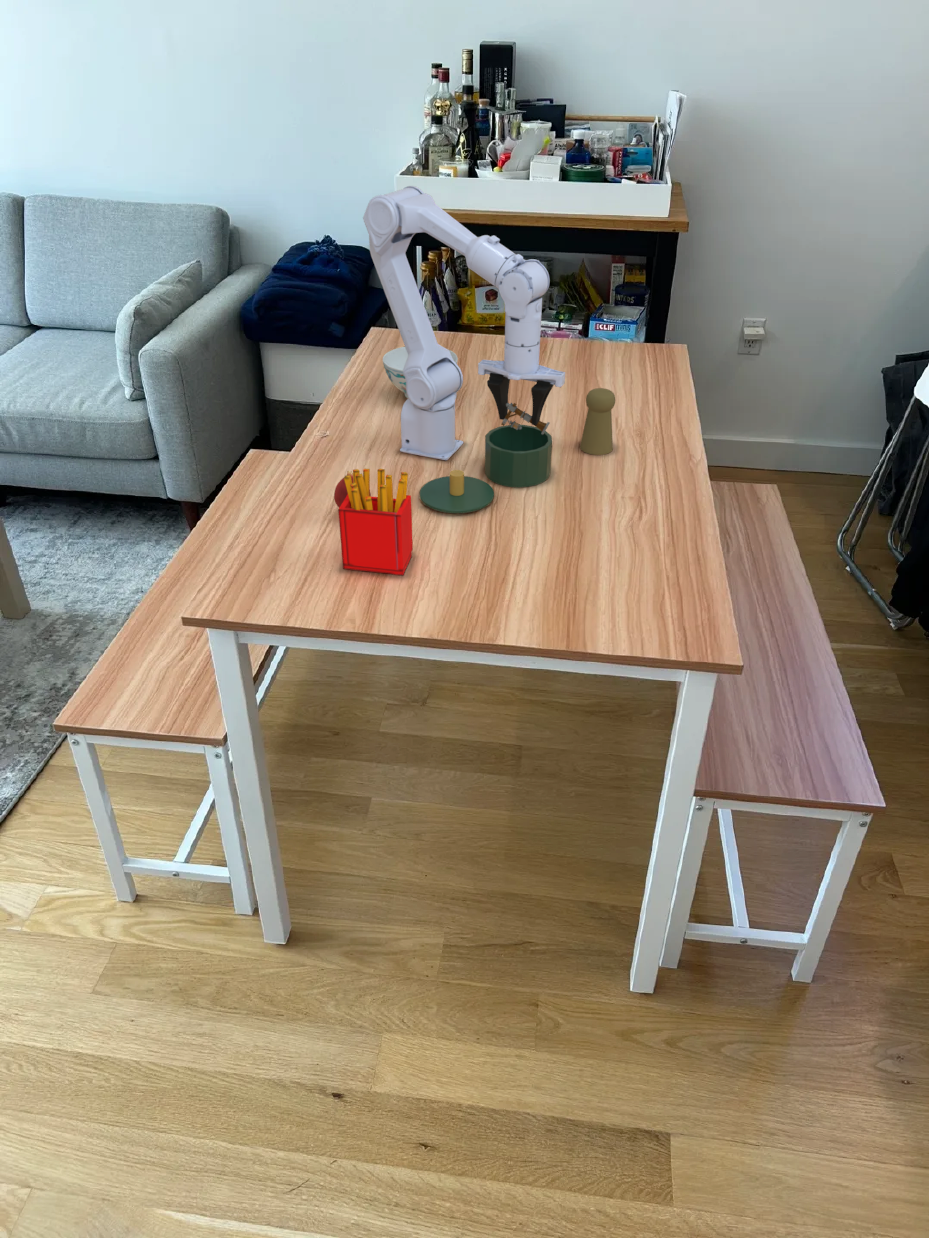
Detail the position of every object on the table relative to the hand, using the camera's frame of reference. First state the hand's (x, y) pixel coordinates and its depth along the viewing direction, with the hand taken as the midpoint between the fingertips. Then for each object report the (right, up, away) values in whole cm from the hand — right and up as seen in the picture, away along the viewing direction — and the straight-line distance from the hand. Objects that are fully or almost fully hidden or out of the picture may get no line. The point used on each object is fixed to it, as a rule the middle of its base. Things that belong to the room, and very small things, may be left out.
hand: (519, 420), depth 163 cm
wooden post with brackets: (+1, -2, +1) cm, 2 cm away
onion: (-27, -17, -7) cm, 33 cm away
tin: (0, -8, +6) cm, 10 cm away
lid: (-11, -13, -3) cm, 17 cm away
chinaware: (-18, +13, +33) cm, 40 cm away
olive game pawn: (+15, -2, +14) cm, 21 cm away
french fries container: (-22, -25, -19) cm, 38 cm away
